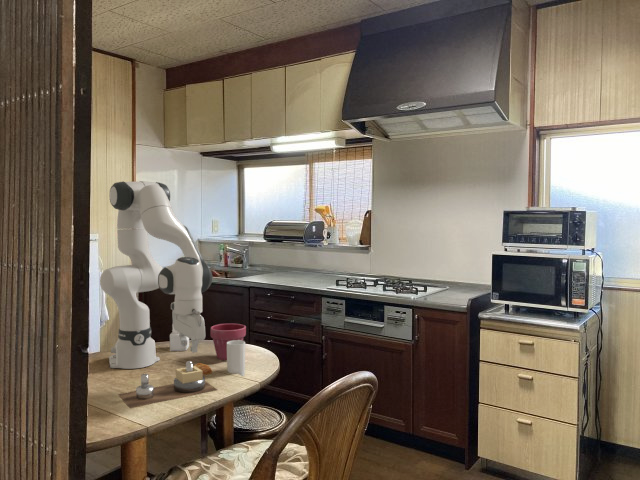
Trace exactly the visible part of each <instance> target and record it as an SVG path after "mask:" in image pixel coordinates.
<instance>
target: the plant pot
mask: <svg viewBox="0 0 640 480" xmlns="http://www.w3.org/2000/svg"><path fill="white" fill-rule="evenodd" d="M246 335H247V326H246V325H245V324H243V323H242V324H240V323H219V324H215V325H213V326H210V338H212V341H213V346H214V350H215V353H216V358H217V359H218V360H220V361H227V342H229V341H233V340H241V341H244V337H246Z"/></svg>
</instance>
